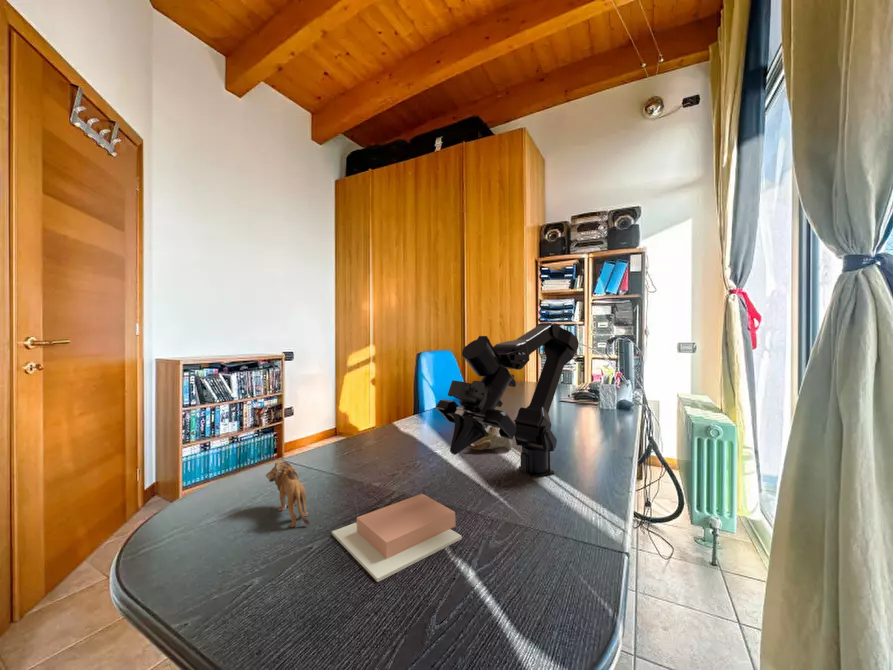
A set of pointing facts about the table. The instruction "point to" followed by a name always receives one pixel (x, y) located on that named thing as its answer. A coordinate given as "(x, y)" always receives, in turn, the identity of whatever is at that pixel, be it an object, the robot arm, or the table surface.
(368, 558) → the rubber mat
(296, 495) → the lion figurine
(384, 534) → the terracotta board
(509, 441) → the ceramic sculpture
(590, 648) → the table surface
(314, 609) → the table surface
